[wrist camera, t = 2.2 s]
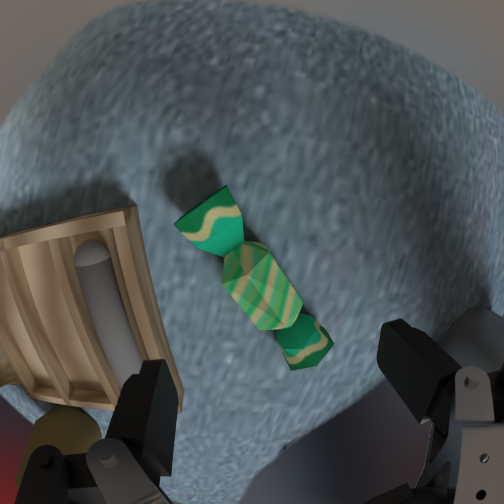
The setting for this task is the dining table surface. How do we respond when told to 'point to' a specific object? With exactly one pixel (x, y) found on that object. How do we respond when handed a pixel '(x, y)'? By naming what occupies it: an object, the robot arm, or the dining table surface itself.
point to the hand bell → (7, 370)
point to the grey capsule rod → (107, 308)
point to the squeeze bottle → (61, 434)
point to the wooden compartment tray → (74, 309)
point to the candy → (255, 279)
